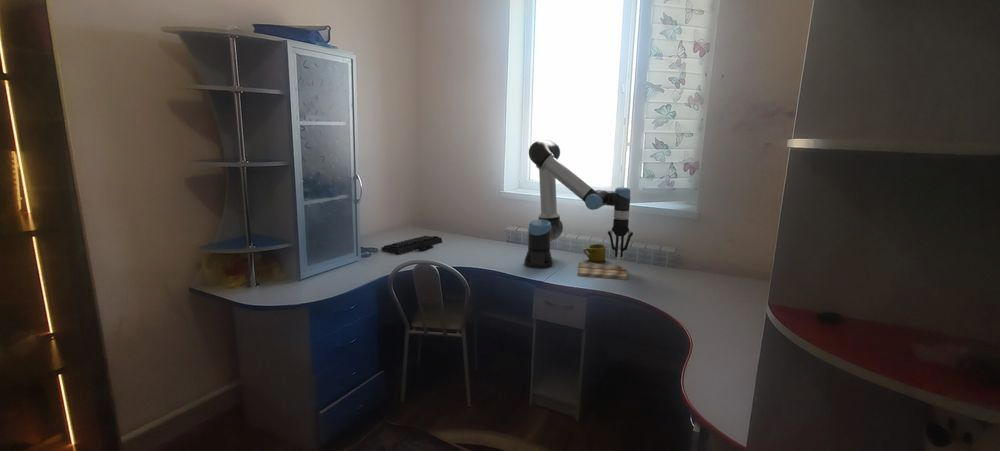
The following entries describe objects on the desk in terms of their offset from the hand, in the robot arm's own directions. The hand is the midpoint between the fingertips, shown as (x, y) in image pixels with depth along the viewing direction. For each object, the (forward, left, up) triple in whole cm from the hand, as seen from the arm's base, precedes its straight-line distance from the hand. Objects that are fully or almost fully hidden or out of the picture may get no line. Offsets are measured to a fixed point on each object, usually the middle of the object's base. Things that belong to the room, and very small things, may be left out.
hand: (618, 262), depth 247 cm
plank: (-8, -2, -4) cm, 9 cm away
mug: (-12, +15, -4) cm, 20 cm away
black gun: (-116, +17, -4) cm, 118 cm away
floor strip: (-8, -11, -4) cm, 14 cm away
